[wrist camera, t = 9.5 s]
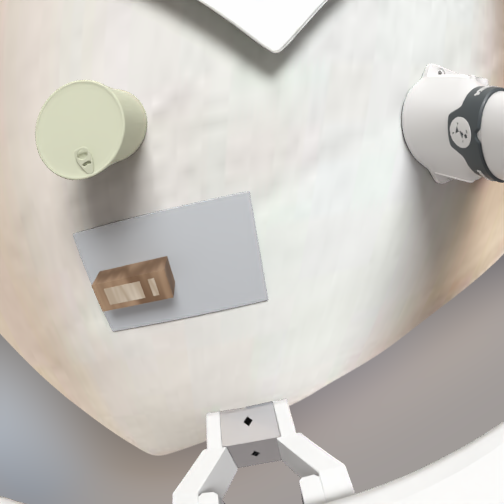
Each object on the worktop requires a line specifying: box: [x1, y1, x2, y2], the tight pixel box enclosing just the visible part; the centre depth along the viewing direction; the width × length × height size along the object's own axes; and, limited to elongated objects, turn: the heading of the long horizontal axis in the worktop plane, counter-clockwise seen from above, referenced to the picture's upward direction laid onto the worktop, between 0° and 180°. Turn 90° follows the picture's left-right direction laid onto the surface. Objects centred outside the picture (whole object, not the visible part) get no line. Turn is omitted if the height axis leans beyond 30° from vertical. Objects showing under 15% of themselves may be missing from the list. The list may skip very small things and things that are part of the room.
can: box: [35, 80, 147, 180], centre depth 28 cm, size 9×9×12 cm
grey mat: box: [73, 191, 268, 331], centre depth 42 cm, size 24×16×1 cm, turn 100°
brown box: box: [92, 256, 175, 312], centre depth 40 cm, size 4×4×10 cm
